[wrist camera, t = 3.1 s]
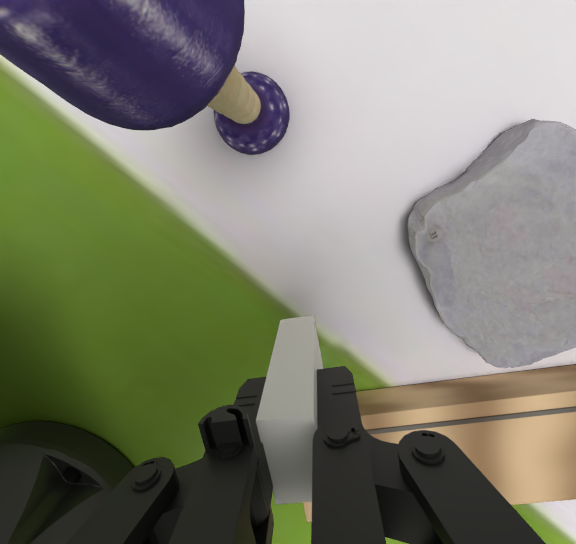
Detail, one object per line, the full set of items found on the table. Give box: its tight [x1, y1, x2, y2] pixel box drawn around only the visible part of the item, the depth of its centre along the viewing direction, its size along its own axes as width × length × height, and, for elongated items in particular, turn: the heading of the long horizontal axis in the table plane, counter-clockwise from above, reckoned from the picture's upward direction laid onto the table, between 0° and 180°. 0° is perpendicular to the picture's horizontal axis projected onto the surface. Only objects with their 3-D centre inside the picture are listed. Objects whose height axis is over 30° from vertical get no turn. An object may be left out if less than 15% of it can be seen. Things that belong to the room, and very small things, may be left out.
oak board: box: [303, 364, 576, 522], centre depth 22 cm, size 22×8×3 cm, turn 100°
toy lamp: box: [0, 0, 289, 155], centre depth 11 cm, size 5×5×17 cm
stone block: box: [407, 119, 576, 368], centre depth 19 cm, size 12×5×10 cm
